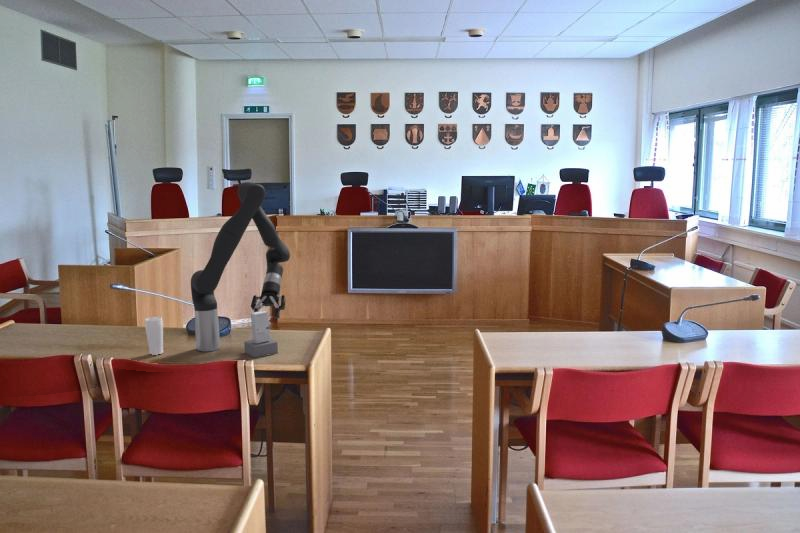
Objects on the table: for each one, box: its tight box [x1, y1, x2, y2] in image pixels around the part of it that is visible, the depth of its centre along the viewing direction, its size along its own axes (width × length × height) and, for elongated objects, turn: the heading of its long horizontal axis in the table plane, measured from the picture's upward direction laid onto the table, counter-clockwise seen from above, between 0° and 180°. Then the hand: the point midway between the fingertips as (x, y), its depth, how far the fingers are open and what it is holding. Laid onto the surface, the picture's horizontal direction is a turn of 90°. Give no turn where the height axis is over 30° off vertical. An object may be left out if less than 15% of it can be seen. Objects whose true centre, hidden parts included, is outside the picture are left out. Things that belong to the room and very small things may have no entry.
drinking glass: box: [144, 316, 164, 356], centre depth 268 cm, size 7×7×15 cm
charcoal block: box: [243, 338, 279, 358], centre depth 267 cm, size 10×10×5 cm
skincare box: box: [250, 310, 271, 343], centre depth 266 cm, size 6×4×12 cm
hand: (265, 317), depth 274 cm, fingers open, 8 cm apart
